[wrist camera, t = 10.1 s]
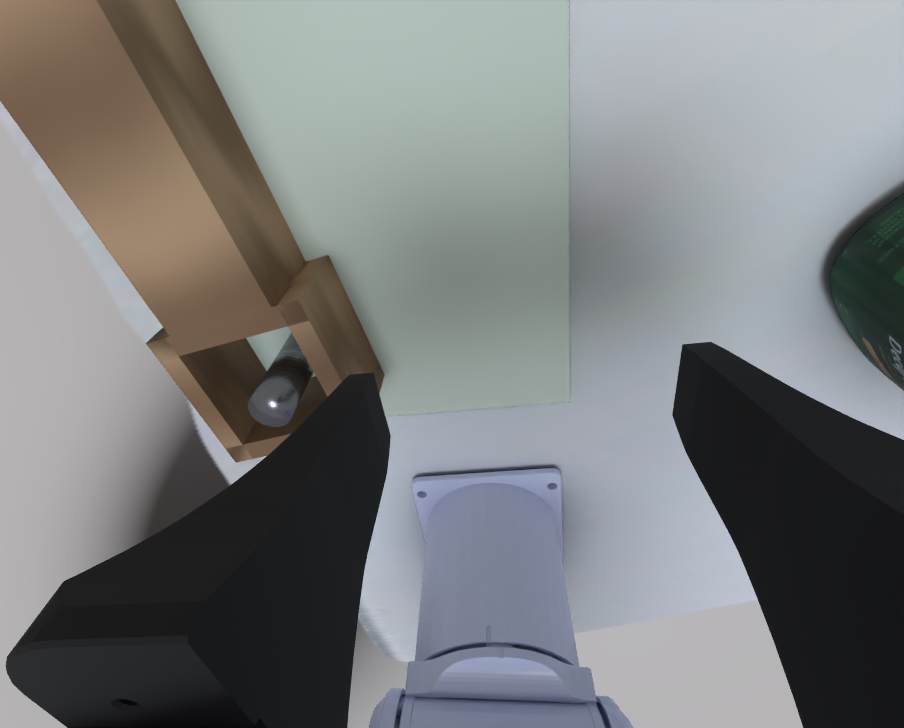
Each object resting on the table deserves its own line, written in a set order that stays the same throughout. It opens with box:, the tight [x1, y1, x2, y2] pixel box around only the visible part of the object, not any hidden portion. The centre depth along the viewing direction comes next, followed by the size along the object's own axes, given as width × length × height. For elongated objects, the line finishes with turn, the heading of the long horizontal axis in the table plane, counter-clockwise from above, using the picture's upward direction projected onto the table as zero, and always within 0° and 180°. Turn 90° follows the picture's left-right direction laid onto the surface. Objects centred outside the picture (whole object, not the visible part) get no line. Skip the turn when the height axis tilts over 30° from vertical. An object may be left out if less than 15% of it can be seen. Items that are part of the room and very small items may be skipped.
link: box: [0, 0, 385, 462], centre depth 16 cm, size 20×6×4 cm, turn 17°
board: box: [152, 0, 570, 417], centre depth 17 cm, size 27×18×1 cm, turn 8°
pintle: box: [248, 332, 313, 427], centre depth 20 cm, size 2×2×5 cm
